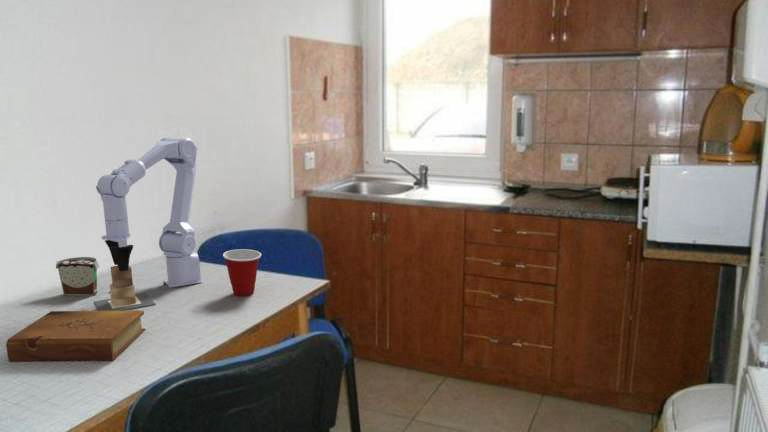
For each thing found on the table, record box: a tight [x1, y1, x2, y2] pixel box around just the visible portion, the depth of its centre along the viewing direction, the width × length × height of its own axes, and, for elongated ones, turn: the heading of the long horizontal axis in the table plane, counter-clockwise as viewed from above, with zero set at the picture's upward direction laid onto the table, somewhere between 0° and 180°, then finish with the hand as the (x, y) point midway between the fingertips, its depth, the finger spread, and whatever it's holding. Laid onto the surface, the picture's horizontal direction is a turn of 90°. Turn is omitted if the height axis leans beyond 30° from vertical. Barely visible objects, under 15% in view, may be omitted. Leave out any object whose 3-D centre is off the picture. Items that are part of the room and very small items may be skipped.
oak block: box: [109, 283, 136, 307], centre depth 177 cm, size 6×6×5 cm
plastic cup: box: [222, 248, 262, 297], centre depth 183 cm, size 11×11×12 cm
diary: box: [5, 309, 146, 363], centre depth 148 cm, size 23×19×6 cm
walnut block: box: [110, 265, 134, 288], centre depth 176 cm, size 4×4×5 cm
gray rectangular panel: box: [94, 292, 157, 311], centre depth 177 cm, size 14×12×1 cm
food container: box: [55, 256, 100, 297], centre depth 187 cm, size 12×6×10 cm, turn 84°
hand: (121, 267), depth 175 cm, fingers open, 7 cm apart
